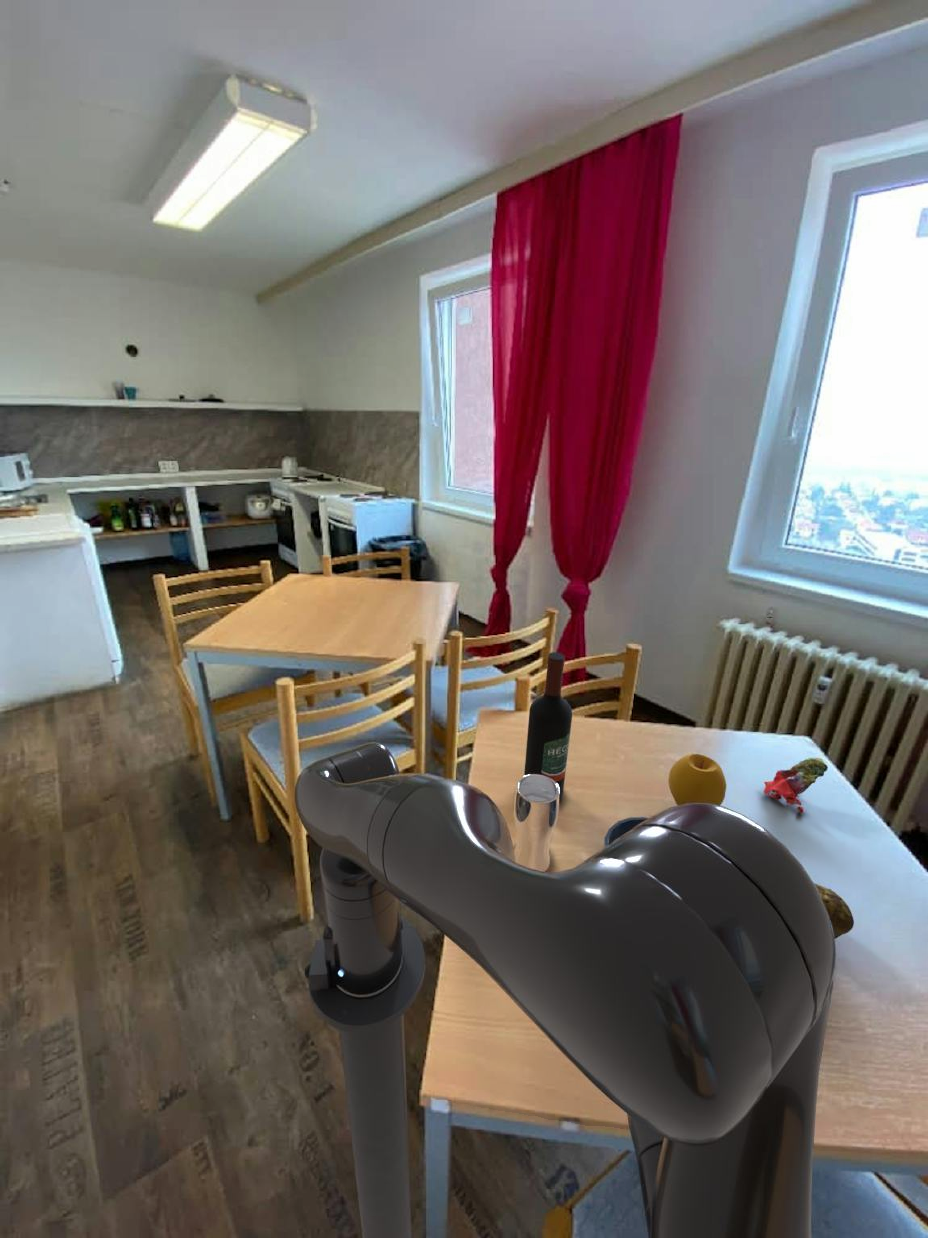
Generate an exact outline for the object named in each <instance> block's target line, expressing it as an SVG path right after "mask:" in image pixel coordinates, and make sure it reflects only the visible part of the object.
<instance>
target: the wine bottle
mask: <svg viewBox="0 0 928 1238" xmlns="http://www.w3.org/2000/svg"><path fill="white" fill-rule="evenodd" d="M565 657H566V656H565V655H564V654H563V653H561V652H558V651H557V652H549V653H548V655H547V660H546V664H547V665H546V676H545V688H544V693H543V694H542V695H539V696H538V697H536V698H535V699H534V700H533V701H532V702H531V703H530V706H529V711H528V712H529V713H528V722H527V723H528V725H527V736H526V746H525V747H526V749H525V758H524V759H525V761H524V773H523V776H526V775H529V774H541V775H545V776H547V777H550V778H551V779H553V780H554V781H555V782H556V783H557V784H558V786H559V790H560V792H559V806H560V805H561V804H562V801H563V797H564V796H563V795H564V787H565V786H564V785H565V779H566V773H567V762H568V754H569V746H570V737H571V731H572V730H571V729H572V721H573V709H572V707H571V705H570V703H569V702H568V701H567V700H566V699H565V698H564V697H562V685H563V675H564V667H565V661H566V660H565Z"/></svg>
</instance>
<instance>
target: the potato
mask: <svg viewBox="0 0 928 1238" xmlns="http://www.w3.org/2000/svg"><path fill="white" fill-rule="evenodd" d="M813 883H814V884H815V886H816V887H817V889H818V892H819V894H820V896H821V898H822V901H823V903H824V905H825V907H826V910H827V912H828V915H829V918H830V921H831V925H832V928H833V933H834V938H835V940H836V939H837V938H839V937H842V936H843V935H847V934H848V933H849V932H851V931H852V930H853V928H854V924H855V920H854V916H853V914H852V911H851V908H850V906H849V905H848V903H847V902H846V901H845V900H844V899H843V898H842V897H841V896H840V895H839V894H838V893H836V892H835V891H833V890H832V889H831V888H827V887H825V886H822V885H820V884H818V883H815V882H813Z"/></svg>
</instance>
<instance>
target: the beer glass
mask: <svg viewBox="0 0 928 1238" xmlns="http://www.w3.org/2000/svg"><path fill="white" fill-rule="evenodd" d="M559 792H560V790H559V786H558V784H557V783H556V782H555V781H554V780H553V779H551V778H550V777H547V776H545V775H541V774H529V775H526V776H524V775H523V776H522V777H520V779H519V780H518V781H517V783H516V789H515V793H514V794H515V795H514V800H513V801H514V802H513V822H514V823H513V824H514V830H515V838H516V840H515V841H516V843H515V847H514V848H513V849H514V854H515V861H516V863H518V864H520V865H523V866H525V867H528V868H531V869H535V870H538V871H543V872H547V870H548V869H549V867H550V864H551V863H550V862H551V857H550V850H549V849H550V844H551V841H552V839H553V836H554V833H555V830H556V826H557V823H558V819H559V812H560V805H559Z"/></svg>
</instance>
